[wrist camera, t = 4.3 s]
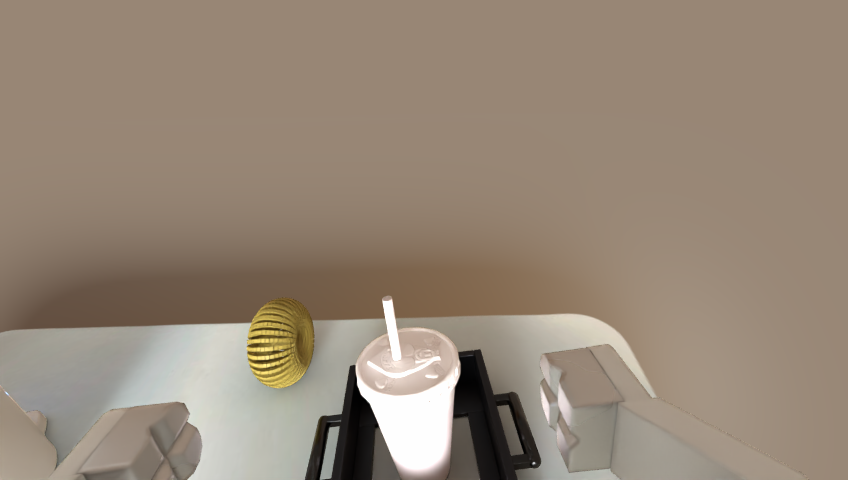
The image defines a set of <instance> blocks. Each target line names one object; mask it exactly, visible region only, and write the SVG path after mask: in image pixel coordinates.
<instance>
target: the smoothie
mask: <svg viewBox="0 0 848 480" xmlns="http://www.w3.org/2000/svg"><path fill="white" fill-rule="evenodd" d="M382 301H383V307H384V312H385V318H386V323H387V329H388V333H385V334H383V335H381V336H379V337H378V338H376V339H374V340H373V341H372V342H370V343H369V344H368V345H367V346H366V347H365V348H364V349H363V351H362V352H361V354H360V355H359V357H358V359H357V362H356V376H357V385H358V388H359V390H360V392H361V395H362V396H363V397H364V398H365V399H366V400H367V401H368V402H369V403H370V405H371V407H372V410H373V412H374V414H375V417H376V419H377V422H378V424H379V426H380V429H381V431H382V434H383V436H384V439H385V441H386V444H387V446H388V449H389V451H390V453H391V456H392V458H393V461H394V463H395V466H396V468H397V471H398V473H399V476H400V478H401V480H445V479H446V478H447V476H448V474H449V471H450V462H451V443H452V425H453V406H454V392H455V385H456V384H457V381H458V379H459V376H460V365H461V364H460V361H459V357H458V351H457V348H456V346H455V344H454V343H453V342H452V340H451V339H450V338H448V337H447V336H446V335H444V334H442V333H441V332H438V331H436V330H433V329H428V328H422V327H408V328H401V329H397V325H396V319H395V313H394V307H393V301H392V297H391V296H386V297H384V298H383V299H382Z"/></svg>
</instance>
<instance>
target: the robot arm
mask: <svg viewBox="0 0 848 480" xmlns="http://www.w3.org/2000/svg"><path fill="white" fill-rule="evenodd" d="M540 368H541V371H542V373H543V375H544V377H545V378H544V379H543V380H542V381H541V383H540V393H541V400H542V406H543V410H544V413H545V416H546V419H547V421H548V424H549V426H550V427H551V428H553V429H554V430H555V431H557V445H558V448H559V450H560V452H561V455H562V457H563V459H564V462H565V464H566V466H567V469H568V471H569V473H570V472H580V471H590V470H599V469H609V468H611V470H610V471H611V472H613V473H614V474H615V475H616V476H617V477H618V478H620V479H621V480H809V479H808V478H807V477H806V476H805V475H804V474H803V473H801V472H800V471H797V470H796V469H794V468H792V467H790V466H788V465H786V464H784V463H782V462H781V461H779V460H777V459H775V458H773V457H771V456H769V455H767V454H765V453H763V452H762V451H760V450H758V449H756V448H754V447H752V446H750V445H748V444H747V443H745V442H743V441H741V440H739V439H737V438H735V437H733V436H731V435H730V434H728V433H726V432H724V431H722V430H720V429H718V428H716V427H714V426H712V425H711V424H709V423H707V422H705V421H703V420H701V419H699V418H697V417H695V416H694V415H691V414H690V413H688V412H686V411H684V410H682V409H680V408H679V407H677V406H675V405H673V404H671V403H669V402H667V401H665V400H663V399H661V398H652V397H651V396H650V395H649V393H648V392H647V391H646V389H645V388H644V387H643V386H642V384H641V383H640V382H639V380H638V379H637V378H636V377H635V375H634V374H633V373H632V371H631V370H630V369H629V368H628V366H627V365H626V364H625V362H624V361H623V360H622V358H621V357H620V356H619V355H618V353H617V352H616V351H615V349H614V348H613V347H612V346H610V345H608V344H606V345H599V346H592V347H586V348H581V349H574V350H566V351H559V352H552V353H545V354H542V355H541V359H540ZM189 415H190V413H189V411H188V409H187V407H186V406H185V404H184V403H180V402H172V403H163V404H153V405H144V406H135V407H131V408H121V409H112V410H110V411H108V412H106V413H104V414H103V415H102V416H101V417H100V418H99V419H98V421H97V422H96V423H95V424H94V425H93V426H92V428H91V429H90V430H89V431H88V432H87V433H86V435H85V436H84V437H83V438H82V439H81V440H80V442H79V443H78V444H77V445H76V446H75V447H74V448H73V450H72V451H71V452H70V453H69V454H68V455H67V457H66V458H65V459H64V460H63V461H62V462H61V464H60V465H59V466H58V467H57V468H56V464H57V451H56V448H55V447H54V445H53V444H52V443H51V442H50V441H49V440H48V439H47V438H46V437H45V431H46V427H47V418H46V417H45V416H44V415H43V414H42V413H41V412H40V411H38V410H33V411H29V412H25V411H24V410H23V409H22V408H21V407H20V406H19V405H18V404H17V403H16V402H15V401H14V400H13V399H12V398H11V396H10V395H9V394H8V393H7V392H6V391H5V390H4V389H3V388H2V387H1V386H0V480H187V479H188V478H189V477H190V476H191V475H192V474H194V472H195V470H196V467H197V465H198V463H199V461H200V456H201V451H202V441H201V436H200V433H199V431H198V429H197V428H196V427H194V426H193V425H191V424H190V423H188V422H187V420H188V418H189ZM55 468H56V469H55Z"/></svg>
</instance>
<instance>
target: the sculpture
mask: <svg viewBox="0 0 848 480" xmlns="http://www.w3.org/2000/svg"><path fill="white" fill-rule="evenodd" d="M269 314H270V315H269ZM282 318H283V319H282ZM281 324H282V325H281ZM280 329H282V330H280ZM279 330H280V331H279ZM288 332H289V333H288ZM277 336H278V337H277ZM248 339H251V340H247V341H248V342H247V344H251V345H248V346H247V351H248V352H247V353H248V354H247V356H248V361H249V363H250V368H251V370H252V372H253V374H254V375H255V376H256V377H257V379H258V380H259V381H260V382H262V383H263V384H264V385H266V386H270V387H273V388H283V387H286V386H290V385H292V384H294V383H296V382H297V381H298V380H299V379H300V378H301V377H302V376H303V375H304V373H305V372H306V370H307V369H308V367H309V365H310V361H311V359H312V355H313V350H314V349H313V348H314V344H313V343H314V327H313V322H312V320H311V317H310V314H309V312H308V311H307V309H306V308H305V307H304V306H303V305H302V304H301V303H300V302H299V301H296V300H294V299H291V298H278V299H274V300H272V301H270V302H268V303H267V304H265V305H264V306H263V307H262V308H261V309H260V310H259V311H258V312H257V314H256V315H255V317H254V320H253V321H252V323H251V326H250V329H249V334H248ZM280 350H285V351H280ZM280 356H284V357H280ZM283 362H284V364H283Z"/></svg>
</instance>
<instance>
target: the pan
mask: <svg viewBox="0 0 848 480" xmlns="http://www.w3.org/2000/svg"><path fill="white" fill-rule="evenodd" d="M458 357H459V361H460V364H461V365H460V376H459V379H458V381H457V384H456V385H455V392H454V406H453V418H456V417H464V416H468V418H469V423H470V428H471V433H472V439H473V444H474V449H475V454H476V459H477V464H478V469H479V475H480V480H518V479H517V476H516V472H515V470H519V469H527V468H538V467H539V466H540V464H541V458H540V455H539V452H538V450H537V447H536V444H535V441H534V438H533V436H532V433H531V430H530V427H529V424H528V422H527V419H526V416H525V413H524V410H523V408H522V405H521V402H520V399H519V396H518V395H517V394H516V393H515V392H510V393H505V394H497V395H493V391H492V388H491V384H490V381H489V377H488V374H487V370H486V367H485V363H484V360H483V356H482V352H481V350H480V349H479V350H474V351H473V350H471V351H463V352H458ZM503 405H509V408H510V412H511V415H512V418H513V421H514V424H515V427H516V430H517V433H518V437H519V440H520V443H521V446H522V449H523V452H524V454H520V455H513V456H511V455H510V451H509V448H508V444H507V441H506V437H505V434H504V430H503V426H502V423H501V419H500V416H499V412H498V409H497V406H503ZM337 426H340V429H339V435H338V441H337V447H336V453H335V459H334V465H333V472H332V478H331V479H324V480H372V470H373V455H374V440H375V428H377V427H380V426H379V424H378V422H377V419H376V417H375V414H374V412H373V410H372V407H371V405H370V403H369V402H368V401H367V400H366V399H365V398H364V397H363V396H362V395H361V392H360V390H359V388H358V385H357V376H356V365H352V366H350V369H349V375H348V381H347V387H346V393H345V399H344V405H343V411H342V414H339V415H331V416H322V417H320V419H319V421H318V425H317V429H316V433H315V438H314V442H313V447H312V451H311V455H310V460H309V464H308V468H307V473H306V477H305V480H320V475H321V470H322V465H323V459H324V454H325V449H326V444H327V439H328V433H329V428H330V427H337Z"/></svg>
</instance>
